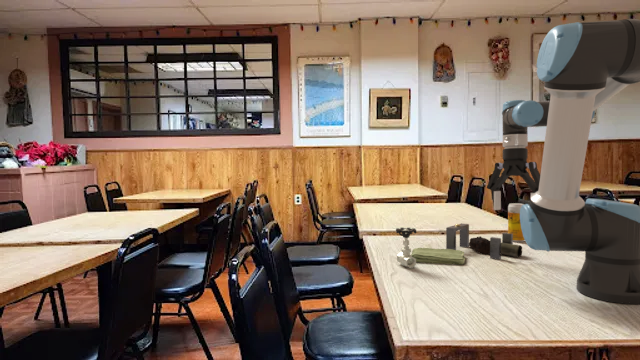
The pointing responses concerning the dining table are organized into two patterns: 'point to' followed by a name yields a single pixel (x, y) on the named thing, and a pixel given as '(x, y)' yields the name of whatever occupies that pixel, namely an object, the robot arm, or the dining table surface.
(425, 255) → the washcloth
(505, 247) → the dark green flashlight
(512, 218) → the beer glass
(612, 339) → the dining table surface
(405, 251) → the valve
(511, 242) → the grey upright posts
